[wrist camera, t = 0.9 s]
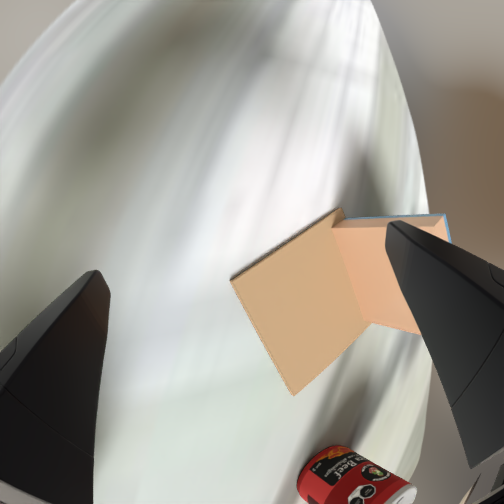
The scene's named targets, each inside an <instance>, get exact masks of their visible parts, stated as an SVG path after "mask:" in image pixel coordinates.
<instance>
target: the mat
mask: <svg viewBox="0 0 504 504" xmlns="http://www.w3.org/2000/svg"><path fill="white" fill-rule="evenodd" d="M344 219H345V215H344V212H343V210H342V208H338V209H337V210H335V211H334V212H332V213H331V214H329V215H328V216H326V217H325V218H323V219H322V220H321V221H319V222H318V223H316V224H315V225H313V226H312V227H310V228H309V229H307V230H306V231H304V232H303V233H301V234H300V235H298V236H297V237H295V238H294V239H292V240H291V241H289V242H288V243H286V244H285V245H283V246H282V247H281V248H279V249H278V250H276V251H275V252H273V253H272V254H270V255H269V256H267V257H266V258H264V259H263V260H261V261H260V262H258V263H257V264H255V265H254V266H252V267H251V268H249V269H248V270H246V271H245V272H243V273H242V274H240V275H239V276H237V277H236V278H234V279H233V280H231V281H230V283H231V285H232V286H233V288H234V290H235V292H236V294H237V296H238V298H239V300H240V302H241V304H242V305H243V307H244V309H245V311H246V313H247V315H248V317H249V319H250V320H251V322H252V324H253V326H254V328H255V330H256V332H257V333H258V335H259V337H260V339H261V341H262V343H263V344H264V346H265V348H266V350H267V352H268V354H269V355H270V357H271V359H272V361H273V363H274V364H275V366H276V368H277V370H278V372H279V374H280V375H281V377H282V379H283V381H284V382H285V384H286V386H287V388H288V390H289V391H290V393H291V395H293V396H295V395H296V394H297V393H298V392H300V391H301V390H302V389H303V388H304V387H305V386H307V385H308V384H309V383H310V382H311V381H312V380H313V379H314V378H316V377H317V376H318V375H319V374H320V373H321V372H322V371H323V370H324V369H325V368H326V367H328V366H329V365H330V364H331V363H332V362H333V361H334V360H335V359H336V358H337V357H338V356H339V355H340V354H341V353H342V352H343V351H344V350H345V349H346V348H347V347H349V346H350V345H351V344H352V343H353V342H354V341H355V340H356V339H357V338H358V337H359V336H360V335H361V334H362V332H363V331H364V330H365V329H366V328H367V327H368V326H369V325H370V324H371V322H367V321H364V319H363V316H362V313H361V310H360V307H359V304H358V301H357V298H356V295H355V292H354V289H353V286H352V283H351V281H350V278H349V275H348V272H347V269H346V266H345V264H344V261H343V258H342V255H341V253H340V250H339V247H338V245H337V242H336V239H335V237H334V234H333V232H332V229H331V228H332V227H334V226H335V225H337V224H338V223H339V222H341V221H342V220H344Z"/></svg>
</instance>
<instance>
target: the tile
mask: <svg viewBox="0 0 504 504" xmlns="http://www.w3.org/2000/svg"><path fill="white" fill-rule="evenodd" d="M396 220H402V221H404V222H406V223H408V224H411V225H413V226H415V227H417V228H420V229H422V230H424V231H426V232H428V233H430V234H432V235H435V236H437V237H439V238H441V239H443V240H445V241H447V242H449V243H451V238H450V234H449V229H448V224H447V220H446V215H445V214H421V215H397V216H376V217H357V218H345V219H344V220H342V221H341V222H339V223H338V224H337V225H335V226H334V227H332V228H331V229H332V232H333V234H334V237H335V239H336V242H337V245H338V247H339V250H340V253H341V255H342V258H343V261H344V264H345V266H346V269H347V272H348V275H349V278H350V281H351V283H352V286H353V289H354V292H355V295H356V298H357V301H358V304H359V307H360V310H361V313H362V316H363V319H364V321H367V322H371V323H375V324H379V325H383V326H387V327H391V328H395V329H399V330H403V331H407V332H411V333H415V334H420V335H421V332H420V330H419V328H418V326H417V324H416V322H415V319H414V317H413V315H412V313H411V311H410V309H409V307H408V305H407V302H406V300H405V298H404V296H403V294H402V292H401V290H400V287H399V285H398V282H397V279H396V277H395V274H394V271H393V269H392V266H391V263H390V261H389V258H388V256H387V253H386V250H385V238H386V229H387V224H388V223H389V222H390V221H396ZM451 244H452V243H451Z"/></svg>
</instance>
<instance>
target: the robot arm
mask: <svg viewBox="0 0 504 504" xmlns="http://www.w3.org/2000/svg"><path fill="white" fill-rule="evenodd" d="M385 250H386V253H387V256H388V258H389V261H390V263H391V266H392V269H393V271H394V274H395V277H396V279H397V282H398V285H399V287H400V290H401V292H402V294H403V296H404V298H405V300H406V302H407V305H408V307H409V309H410V311H411V313H412V315H413V317H414V319H415V322H416V324H417V326H418V328H419V330H420V332H421V335H422V337H423V339H424V342H425V344H426V346H427V348H428V351H429V353H430V355H431V358H432V360H433V363H434V365H435V368H436V370H437V372H438V375H439V377H440V380H441V383H442V385H443V388H444V391H445V393H446V396H447V399H448V401H449V404H450V407H451V410H452V413H453V416H454V419H455V422H456V425H457V428H458V431H459V434H460V437H461V440H462V443H463V447H464V450H465V454H466V457H467V460H468V464H469V467H470V469H472V468H474V467H476V466H478V465H480V464H481V463H483V462H485V461H487V460H488V459H490V458H492V457H494V456H495V455H497V454H499V453H500V452H502V451H503V450H504V270H502V269H500V268H498V267H496V266H495V265H493V264H491V263H488V262H487V261H485V260H483V259H481V258H479V257H477V256H475V255H473V254H471V253H469V252H467V251H465V250H464V249H462V248H459V247H457V246H455V245H453V244H451V243H449V242H447V241H445V240H443V239H441V238H439V237H437V236H435V235H432V234H430V233H428V232H426V231H424V230H422V229H420V228H417V227H415V226H413V225H411V224H408V223H406V222H404V221H402V220H396V221H390V222H389V223H388V224H387V229H386V238H385ZM110 297H111V294H110V290H109V287H108V285H107V284H106V282H105V280H104V278H103V276H102V274H101V272H100V271H99V270H93V271H88V272H86V273H85V274H84V275H82V276H81V277H80V278H79V279H78V280H77V281H75V282H74V283H73V284H72V285H71V286H70V287H69V288H67V289H66V290H65V291H64V292H63V293H62V294H61V295H60V296H59V297H57V298H56V299H55V300H54V301H53V302H52V303H51V304H50V305H49V306H48V307H47V308H45V309H44V310H43V311H42V312H41V313H40V314H39V315H38V316H37V317H36V318H35V319H34V320H33V321H32V322H31V323H30V324H29V325H28V326H26V327H25V328H24V329H23V330H22V331H21V332H20V333H19V334H18V336H17V337H15V338H14V339H13V340H12V341H11V342H10V343H9V344H8V345H7V346H6V347H5V348H4V349H3V350H2V351H1V352H0V504H93V471H94V445H95V430H96V418H97V407H98V398H99V389H100V381H101V374H102V367H103V360H104V353H105V347H106V341H107V333H108V320H109V308H110ZM472 504H504V464H502V465H501V467H500V470H499V472H498V475H497V478H496V480H495V483H494V485H493V487H492V490H491V492H490V493H489V494H488V495H486V496H484V497H483V498H481V499H479V500H477V501H476V502H474V503H472Z"/></svg>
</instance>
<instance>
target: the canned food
mask: <svg viewBox="0 0 504 504" xmlns="http://www.w3.org/2000/svg"><path fill="white" fill-rule="evenodd" d="M297 490H298V492H299V494H300V496H301V497H302V498H303V499H304V500H305V501H306V502H308V503H309V504H412V503H413V501H414V498H415V496H416V493H417V487H415V486H414V485H412V484H411V483H409V482H407V481H405V480H404V479H402V478H400V477H398V476H396V475H394V474H393V473H391V472H389V471H387V470H385V469H383V468H382V467H380V466H378V465H376V464H375V463H373V462H371V461H369V460H368V459H366V458H364V457H363V456H361V455H359V454H357V453H356V452H354V451H352V450H351V449H349V448H348V447H343V446H339V445H337V446H332V447H329V448H327V449H325V450H323V451H322V452H320V453H319V454H317V455H316V456H315V457H314V458H313V459H312V460H311V461H310V462H309V463H308V464H307V465H306V466H305V468H304V469H303V471H302V472H301V474H300V476H299V479H298V482H297Z"/></svg>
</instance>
